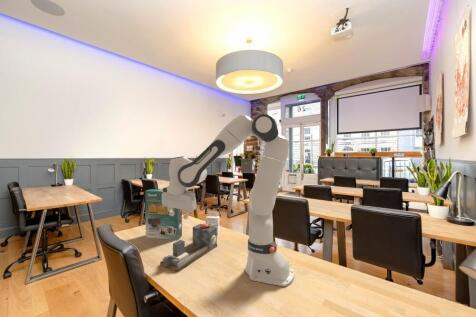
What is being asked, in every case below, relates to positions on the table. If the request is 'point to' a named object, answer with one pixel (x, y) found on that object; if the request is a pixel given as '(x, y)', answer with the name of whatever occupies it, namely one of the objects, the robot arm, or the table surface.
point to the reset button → (204, 225)
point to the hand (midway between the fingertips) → (178, 217)
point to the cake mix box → (161, 217)
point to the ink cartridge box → (213, 219)
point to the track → (194, 248)
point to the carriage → (179, 251)
